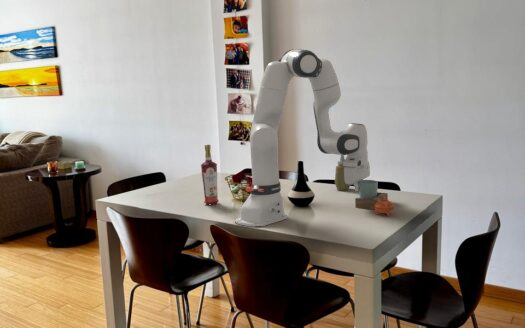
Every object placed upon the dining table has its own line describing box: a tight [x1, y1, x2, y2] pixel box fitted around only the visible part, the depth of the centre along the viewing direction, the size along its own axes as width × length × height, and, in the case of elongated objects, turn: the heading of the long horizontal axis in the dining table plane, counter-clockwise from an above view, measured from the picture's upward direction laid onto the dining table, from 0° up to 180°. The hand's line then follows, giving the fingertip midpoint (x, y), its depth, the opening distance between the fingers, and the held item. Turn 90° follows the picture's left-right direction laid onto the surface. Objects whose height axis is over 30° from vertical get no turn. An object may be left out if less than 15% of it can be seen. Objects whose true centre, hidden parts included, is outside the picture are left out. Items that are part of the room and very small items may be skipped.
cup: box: [358, 179, 379, 199], centre depth 217 cm, size 8×8×10 cm
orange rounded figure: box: [374, 199, 395, 217], centre depth 200 cm, size 8×8×7 cm
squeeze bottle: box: [334, 155, 351, 191], centre depth 247 cm, size 8×8×18 cm
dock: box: [354, 191, 389, 210], centre depth 216 cm, size 14×9×4 cm, turn 145°
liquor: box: [200, 144, 220, 205], centre depth 229 cm, size 7×7×28 cm
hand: (358, 190), depth 219 cm, fingers closed, pressing on cup
